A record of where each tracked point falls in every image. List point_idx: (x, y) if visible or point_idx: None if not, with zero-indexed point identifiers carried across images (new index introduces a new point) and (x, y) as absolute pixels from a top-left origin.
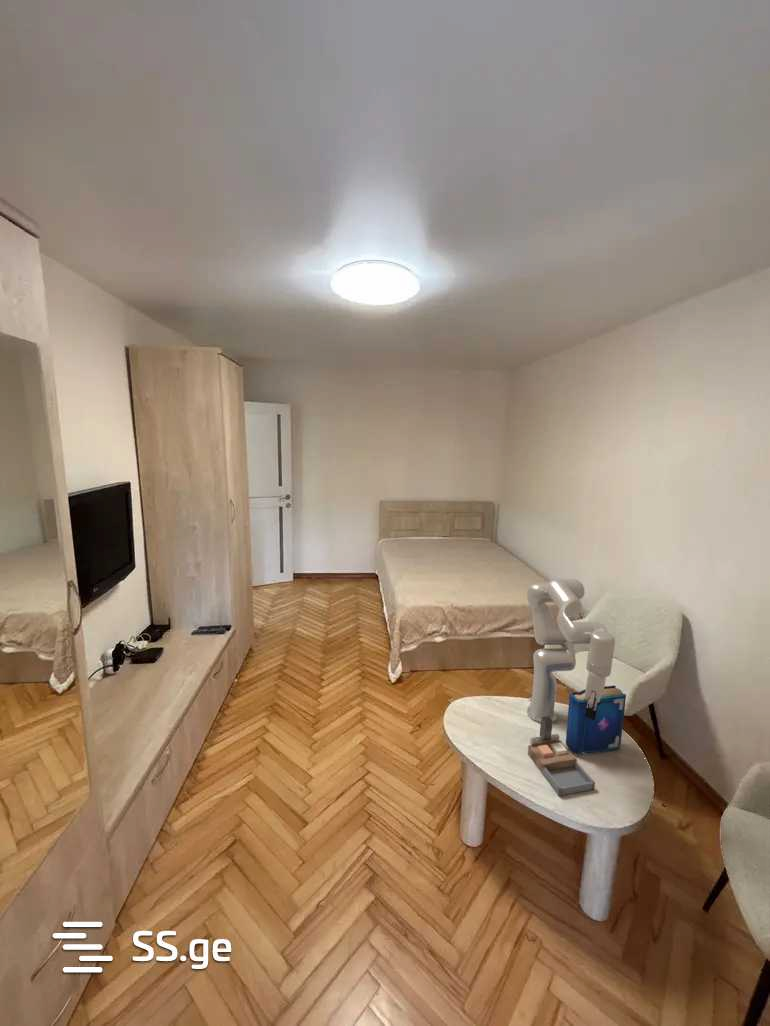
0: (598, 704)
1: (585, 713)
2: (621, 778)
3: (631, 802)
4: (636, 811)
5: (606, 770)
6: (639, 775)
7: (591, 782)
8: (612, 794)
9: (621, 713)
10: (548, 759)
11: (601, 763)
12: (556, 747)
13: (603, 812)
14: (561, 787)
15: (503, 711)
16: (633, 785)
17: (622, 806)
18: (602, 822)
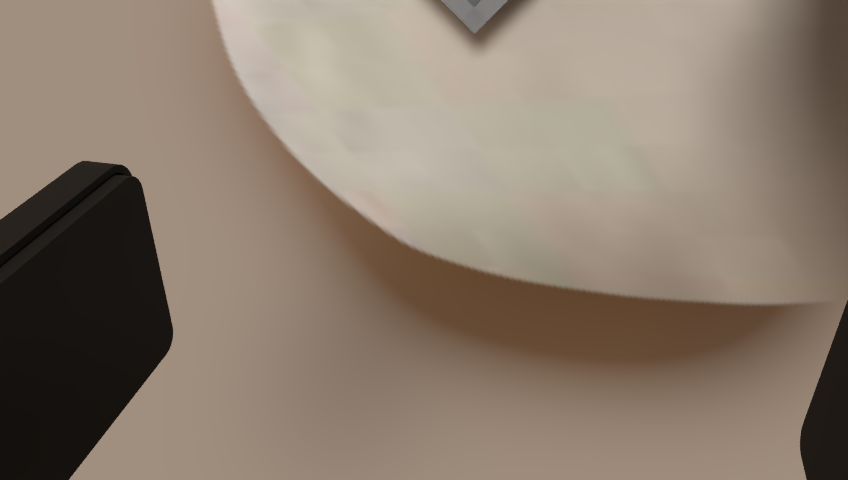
0: (806, 429)
1: (39, 196)
2: (716, 179)
3: (513, 230)
4: (457, 251)
5: (758, 80)
6: (810, 281)
7: (460, 8)
8: (516, 130)
9: None
10: None
11: (834, 38)
12: None
13: (325, 88)
14: None
15: None
16: (681, 245)
17: (447, 185)
18: (247, 88)
